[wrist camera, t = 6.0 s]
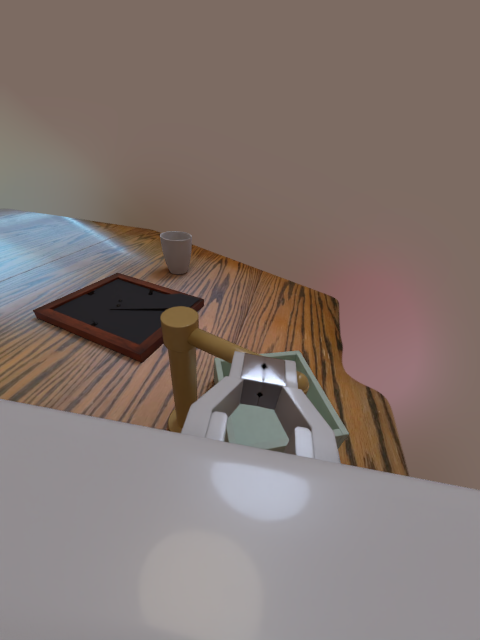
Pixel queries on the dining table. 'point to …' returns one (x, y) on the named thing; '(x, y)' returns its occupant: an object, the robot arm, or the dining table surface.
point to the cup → (176, 251)
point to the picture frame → (118, 313)
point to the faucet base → (182, 386)
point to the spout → (202, 338)
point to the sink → (263, 423)
